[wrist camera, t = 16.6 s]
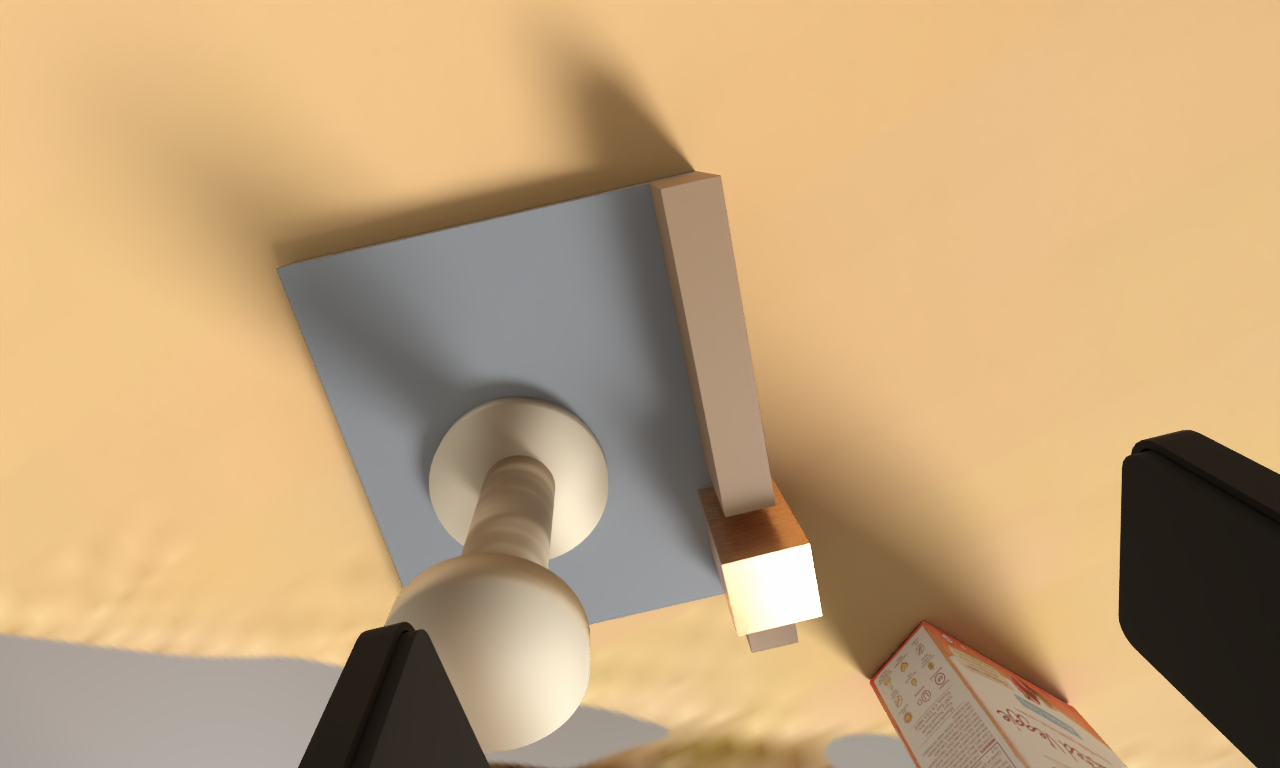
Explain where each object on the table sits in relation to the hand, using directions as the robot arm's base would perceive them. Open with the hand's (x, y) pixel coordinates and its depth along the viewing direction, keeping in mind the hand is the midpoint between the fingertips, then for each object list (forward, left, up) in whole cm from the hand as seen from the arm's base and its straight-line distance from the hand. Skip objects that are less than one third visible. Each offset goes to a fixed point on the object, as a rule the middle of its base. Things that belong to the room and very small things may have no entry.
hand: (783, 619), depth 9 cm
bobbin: (+8, +9, -25) cm, 28 cm away
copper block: (-3, +14, -25) cm, 29 cm away
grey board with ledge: (+6, +7, -26) cm, 28 cm away
